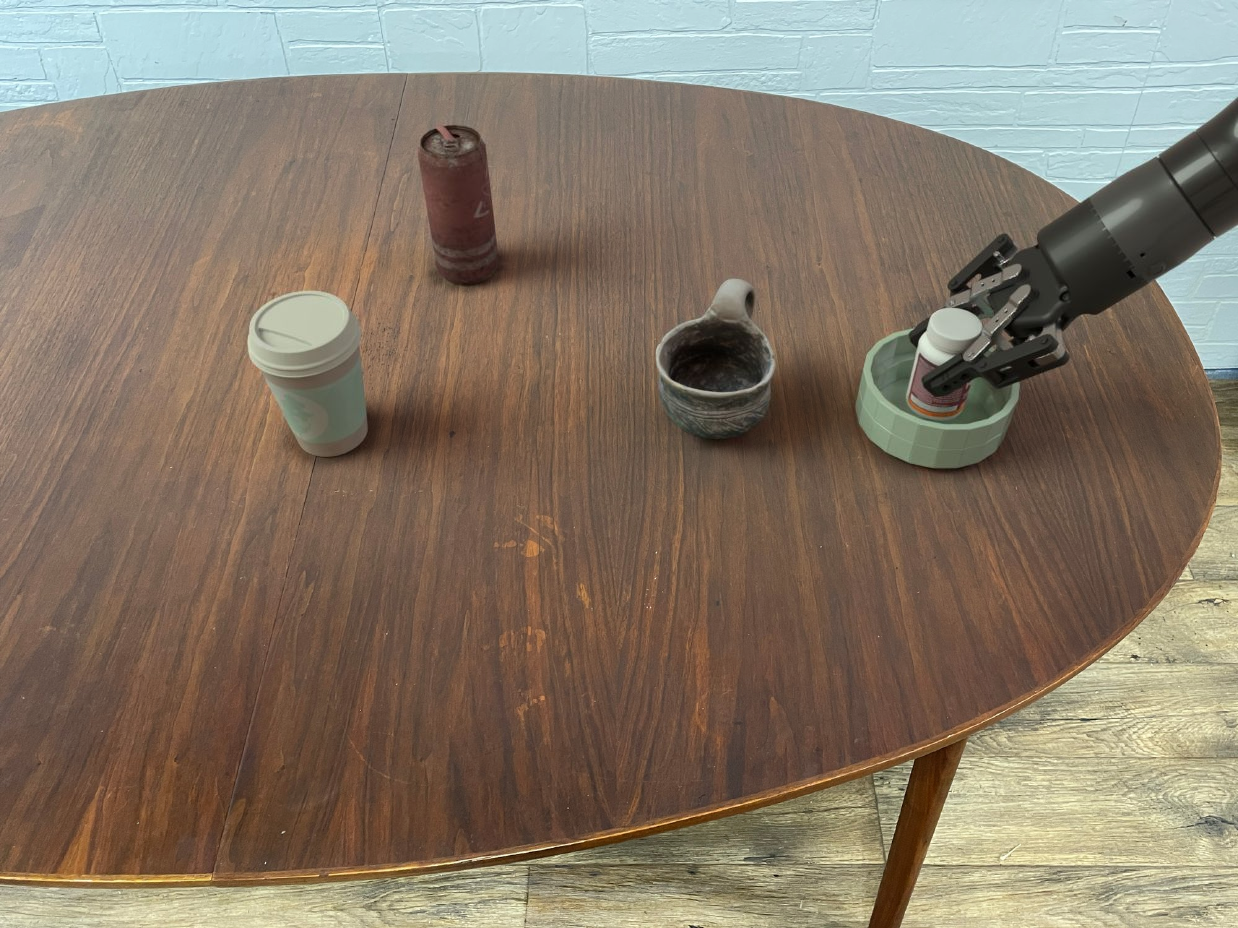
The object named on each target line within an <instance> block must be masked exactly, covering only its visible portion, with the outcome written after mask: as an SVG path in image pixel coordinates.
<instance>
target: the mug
mask: <svg viewBox="0 0 1238 928" xmlns="http://www.w3.org/2000/svg"><path fill="white" fill-rule="evenodd" d="M755 305H756V293H755V289H754V287H753V286H752V285H751V283H749V282H748V281H746V280H743V279H741V278H729V279H726V280H725V281H724V282H723V283H722V284H721V285H720V286H719V288H718V290H717V291H716V293H715V295H714V298H713V300H712V302H711V305H710V307H708V309H706V311H705V313H704V314H703V316H701V317H699V318H696V319H691V320H688V321H685V322H682V323H680V324H678V325H676V326H675V327H674V328H672V329H671V330H670V331H668V332H666V334H665V335H664V336H663V337H662V339H661V342H660V343H658V345H657V347H656V349H655V364H656V369H657V373H658V396H659V399H660V402H661V405H662V408H663V410H664V411H665V413H666V416H668V418H669V419H670V420H671V421H672V422H673V423H674V424H675V425H676V426H677V427H679V428H680V429H681V430H683V431H684V432H686V433H688V434H690V435H692V436H694V437H698V438H700V439H701V438H702V439H709V440H724V439H731V438H735V437H738V436H742V435H744V434H745V433H747V432H749V431H750V430H751V429H753V428H754V427H755V426H756V425H758V424H759V423H760V422H761V421H762V420H763V418H764V417H765V415H766V414H767V412H768V410H769V407H770V404H771V402H770V401H771V399H772V398H771V397H772V392H771V381H772V378H773V377H774V374H775V372H776V357H775V353H774V350H773V348H772V345H771V342H770V340H769V339H768V337H767V336H766V335H765V333H763V331H762V330H761V329H760V328H759V327H758V326H757V325H756V324H755V322H753V320H752V319H753V316H754V315H753V314H754V310H755Z"/></svg>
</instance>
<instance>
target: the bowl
mask: <svg viewBox="0 0 1238 928" xmlns="http://www.w3.org/2000/svg"><path fill="white" fill-rule="evenodd" d="M914 328H915V327H912V328H909V329H904V330H900V331H896V332H893V333H891V334H888V335H887V336H885V337H884V338H882V339H880V340H878V341H876V343H875V344H874V345H873V346H872V347H871V349H870V350H869V351H868V352H867V354H866V356H865V360H864V364H863V367H862V373H861V378H860V381H859V387H858V391H857V397H856V400H855V406H854V409H855V412H856V417H857V422H858V424H859V426H860V428H861V429H862V430H863V432H864V434H865V435H866V436H867V437H868V439H869V440H870V441H871V442H872V443H874V444H875V445H876V446H878V447H879V448H880V449H881V450H882V451H883V452H885V453H887V454H889V455H891V456H893V457H895V458H897V459H899V460H901V461H904V462H906V463H907V464H912V465H916V466H921V467H926V468H931V469H959V468H962V467H966V466H970V465H974V464H978V463H980V462H982V461H983V460H985V459H987V458H988V457H990V456H991V455H992V454H994V453H995V452H996V451H997V450H998V448H999V447H1000V446H1001V443H1003V441H1004V439H1005V437H1006V435H1007V432H1008V429H1009V426H1010V424H1011V422H1012V418H1013V415H1014V413H1015V409H1016V407H1017V404H1018V401H1019V397H1020V387H1021V386H1020V385H1021V383H1020V382H1017V383H1014V384H1011V385H1009V386H1006V387H1003V388H1001V389H995V388H994V387H993V386H992V385H991V384H990V383H989V382H988V381H987V380H986V379H984V378H983V377H978V378H975V379H973V380H972V383H971V386H970V389H969V393H968V396H967V399H966V402H965V406H964V409H963V411H962V412H961V413H960V414H959V415H958V416H957V417H955V418H953V419H950V420H946V421H936V420H930V419H926V418H923V417H921V416H919V415H917V414H916V413H914V412H913V411H912V410H911V409H910V408H909V406H908V404H907V402H906V392H907V387H908V384H909V380H910V376H911V371H912V367H913V363H914V359H915V355H916V351H917V348H916V347H915V346H914V345H913V344H912V343H911V342H910V339H909V332H910V331H912V330H913V329H914ZM995 349H996V348H994V347H993V346H992V347H991V348H990V349H989V350H988V351H987V352H986V353H985V354H984V355H985V356H986V357H988V356H989V355H990V354H991V353H992V352H993V351H994V350H995ZM1008 368H1011V367H1006V368H1003V369H1001V371H1003V370H1006V369H1008Z"/></svg>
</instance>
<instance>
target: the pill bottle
mask: <svg viewBox="0 0 1238 928" xmlns="http://www.w3.org/2000/svg"><path fill="white" fill-rule="evenodd" d="M931 315H932V316H931ZM931 315H930V316H931V317H930V316H929V317H930V320H929V324H928V327H927V331H926V332H925V333H924V334H923V335H922V336H921V338H920V339H919V342H918V347H917V351H916V355H915V359H914V363H913V367H912V371H911V376H910V380H909V384H908V387H907V392H906V402H907V404H908V406H909V408H910V409H911V410H912V411H913V412H914V413H916V414H917V415H919V416H921V417H923V418H926V419H930V420H936V421H946V420H950V419H953V418H955V417H957V416H958V415H959V414H960V413H961V412H962V411H963V409H964V406H965V402H966V399H967V396H968V393H969V389H970V386H971V383H972V381H970V382H969V383H967V384H965V385H964V386H962V387H960V388H958V389H957V390H955V391H954V392H952V393H951V394H949V395H947V396H943V397H941V396H940V397H934V396H933V395H932V394H930V393H929V392H928V391H927V390H926V389H925V388H924V387H923V384H922V380H921V379H922V377H923V376H924V375H926V374H927V373H929V372H930V371H932V370H933V369H935V368H937V367H938V366H940V365H941V364H943V363H945V362H946V361H948V360H949V359H951V358H952V357H954V356H956V355H957V354H959V353H961V354H962V355H964V353H965V351H966V350H967V349H968V348H969V347H970V346H971V345H972V344H973V343H974V342H975V341H976V340H977V339H978V338H979V337H980V336H981V335H982V333H983V332H982V329H983V327H984V325H983V323H982V320H980V319H979V318H978V317H977V316H976V315H974V314H973V313H971V312H969V311H966V310H963V309H958V308H944V309H942V308H940V309H938V310H936V311H934V312H933V313H932V314H931Z"/></svg>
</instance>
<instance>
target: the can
mask: <svg viewBox="0 0 1238 928" xmlns="http://www.w3.org/2000/svg"><path fill="white" fill-rule="evenodd" d="M417 158H418V165H419V170H420V171H419V172H420V176H421V182H422V183H421V184H422V188H423V195H424V200H425V207H426V212H427V219H428V224H429V230H430V236H431V241H432V248H433V253H434V260H435V265H436V269H437V271H438V273H439V275H440V276H442V278H444V279H445V280H447V282H450V283H452V284H455V285H461V286H462V285H463V286H468V285H477V284H481V283H483V282H485V281H486V280H488V279H490V278H491V277H492V276H493V275H494V274H495V272H496V271H497V269H498V267H499V265H500V258H499V249H498V241H497V231H496V224H495V215H494V214H495V213H494V206H493V197H492V187H491V179H490V170H489V161H488V154H487V144H486V143H485V142H484V139H483V138H482V136H481V134H480V132H479V131H477V130H476V129H474V128H472V127H470V126H468V125H467V126H466V125H460V124H451V125H450V124H446V125H442V124H440V125H437V126H435V127H434V128H433V129H430V130H428V131H427V132H425V133H424V134H423V135H422V137H420V140H419V145H418V147H417Z"/></svg>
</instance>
